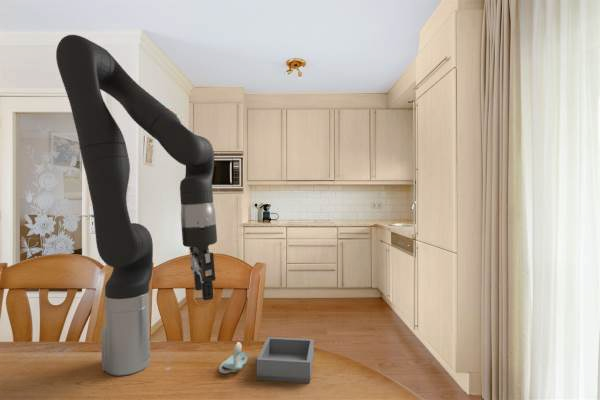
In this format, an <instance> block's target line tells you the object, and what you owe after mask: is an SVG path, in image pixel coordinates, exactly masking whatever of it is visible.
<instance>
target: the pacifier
mask: <svg viewBox="0 0 600 400" xmlns="http://www.w3.org/2000/svg"><path fill="white" fill-rule="evenodd" d="M242 348H243V346H242V343H241V342H239V341H237V342H236V344H235V345H234V348H233V352H232V354H231V355H230V356H229V357H228V358H227V359H226V360H224V361H222V362H221V363H220V365H219V367H218V371H219V373H221V374H230V373H237V372H238V370H239V369H240V370H241V369H243V366H244V365H246V364H247V362H248V354H247V352H244V351H242ZM224 368H226V369H224ZM240 370H239V371H240ZM236 371H237V372H236Z"/></svg>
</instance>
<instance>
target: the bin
mask: <svg viewBox="0 0 600 400" xmlns="http://www.w3.org/2000/svg"><path fill="white" fill-rule="evenodd" d="M314 340H315V339H310V338H308V339H307V338H294V337H293V338H292V337H271V336H270V337H266V339H265V341H264V344H263V346H262V348H261V350H260V352H259V353H258V356H257V359H256V380H257V381H268V382H269V381H270V382H272V381H273V382H275V381H276V382H286V383H288V382H289V383H303V384H304V383H305V384H310V383H311V380H312V379H311V378H312V371H313V364H314V358H315V357H314V356H315V355H314V354H315V349H314V348H315V347H314V346H315V341H314Z"/></svg>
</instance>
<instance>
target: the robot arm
mask: <svg viewBox="0 0 600 400" xmlns="http://www.w3.org/2000/svg"><path fill="white" fill-rule="evenodd" d="M55 53H56V55H55V57H56V58H55V59H56V60H55V61H56V65H57V69H58V71H59V75H60V78H61V80H62V83H63V87H64V89H65V93H66V96H67V99H68V102H69V105H70V110H71V113H72V118H73V121H74V126H75V130H76V134H77V138H78V146H79V151H80V154H81V160H82V165H83V168H84V172H85V176H86V181H87V187H88V191H89V195H90V200H91V206H92V211H93V222H94V230H95V231H94V232H95V241H96V242H95V244H96V248H97V249H96V250H97V253H98V255H99V257H100V258H101V260H102V261H103V262H104V263H105V264H106V265H107V266H109V267H111V268H112V273H111V275H110V276H109V278H108V280H107V281H106V283H105V285H104V301H105V302H104V305H105V306H104V308H105V326H104V327H103V328H102V329H101V335H100V336H101V371H103V372H106V373H107V374H109V375H111V376H128V375H132V374H135V373H139V372H141V371H142V370H145V369H146V368H147V367H148V366H149V365H150V363H151V361H150V360H151V356H150V355H151V351H150V349H151V348H150V345H151V344H150V343H151V342H150V341H151V338H150V337H151V336H150V335H151V334H150V283H151V279H152V275H153V256H154V255H153V253H154V247H153V246H154V245H153V243H154V242H153V238H152V234H151V233H150V231H149V230H148V228H147V227H146V226H144V225H142V224H141V223H135V222H132V221H131V217H130V215H129V209H128V205H127V204H128V203H127V193H128V186H129V180H130V173H131V172H130V171H131V164H130V158H129V153H128V147H127V144H126V140H125V137H124V135H123V132H122V130H121V128H120V126H119V124H118V123H117V122H116V120H115V118H114V117H113V115H112V113H111V112H110V111H109V108H108V107H107V105H106V102H105V101H104V97H103V95H102V92H104V93H106V94H107V95H109V96H111V97H112V98H113V99H114V100H116V101H117V102H118V103H119V104H120V105H121V106H122V107H123V109H124V110H125V111H126V113H127V115H128V116H129V117H131V119H132V120H133V121H134V122H135V123H136V124H137V125H138V126H139V127H140V128H141V129H143V130H144V131H145V132H146V133H148V134H149V135H150V136H151V137H153V139H155V140H156V141H158V143H159V145H160V146H161V147H162V148H163V149H164V150H165V151H166V153H167V154H168V155H169V156H170V157H171V158H173V160H175V161H176V162H178V163H179V164H181V165H183V166H185V176H184V178H182V180H181V181H180V183H179V196H180V224H181V237H182V245H183V246H184V247H186V248H189V254H190V269H191V271H192V274H193V278H194V281H193V282H194V289H195V291H201V295H202V299H203V300H204V301H209V300H213V299H214V288H213V286H214V285H213V282H214V281H216V279H217V278H216V272H215V270H216V269H215V258H214V256H215V255H214V252H210V248H209V246H210V245H215V244H216V243H218V233H217V219H216V210H215V205H214V194H213V185H212V184H213V182H212V181H213V178H214V177H213V176H214V168H215V152H214V148H213V144H212V143H211V142H210V140H208V139H207V138H205V137H203V136H201V135H197V134H195V133H193V132H192V131H191V130H190V129H188V128H187V127H186V126H185V125H184V124H182V122H181V120H180V118H179V117H178V116H177V115H176V114H174V112H173V111H171V110H170V109H169V108H167V106H165V105H164V104H163V103H161V102H160V100H158V99H157V98H155V97H154V96H153V95H152V94H150V93H149V92H148V91H146V90H145V89H144V88H143V87H142V86H140V85H139V84H138V83H137V82H136V81H135V80H134V79H133V78H132V77H131V75H129V73H127V71H126V70H125V69H124V68H123V67H122V66H121V64H119V62H118V61H117V60H116V59H115V57H114V56H113V55H112V54H111V53H110V52H109V51H108V50H107V49H106V48H104V47H102V46H100V45H98V44H97V43H95V42H93V41H92V40H90V39H87V38H86V37H84V36H81V35H77V34H67V35H66V36H64V37H62V38H61V40H59V42H58V44H57V47H56V51H55ZM206 274H208V275H206Z"/></svg>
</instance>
